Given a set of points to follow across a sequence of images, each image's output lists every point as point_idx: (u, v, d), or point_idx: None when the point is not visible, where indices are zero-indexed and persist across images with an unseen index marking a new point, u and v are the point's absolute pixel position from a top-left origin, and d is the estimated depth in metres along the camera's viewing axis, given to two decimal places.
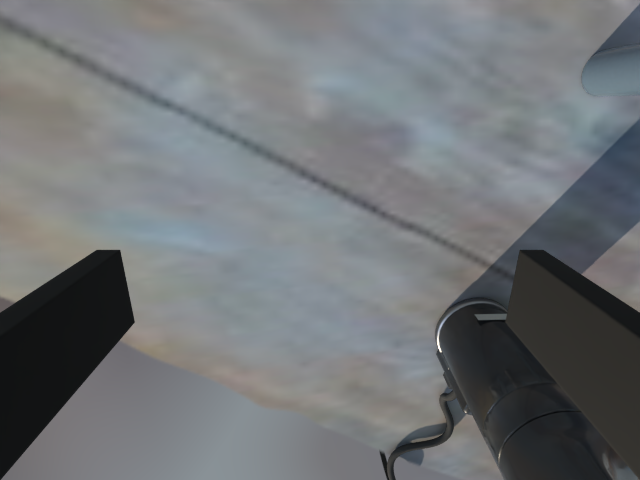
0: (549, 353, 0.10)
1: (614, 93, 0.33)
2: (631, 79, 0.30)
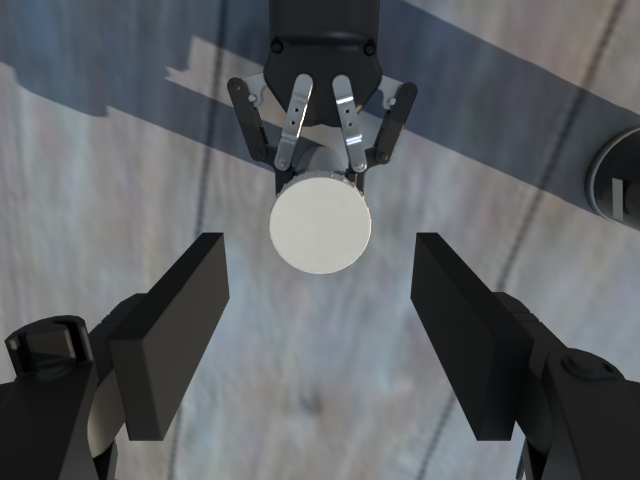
0: (428, 319, 0.12)
1: None
2: None
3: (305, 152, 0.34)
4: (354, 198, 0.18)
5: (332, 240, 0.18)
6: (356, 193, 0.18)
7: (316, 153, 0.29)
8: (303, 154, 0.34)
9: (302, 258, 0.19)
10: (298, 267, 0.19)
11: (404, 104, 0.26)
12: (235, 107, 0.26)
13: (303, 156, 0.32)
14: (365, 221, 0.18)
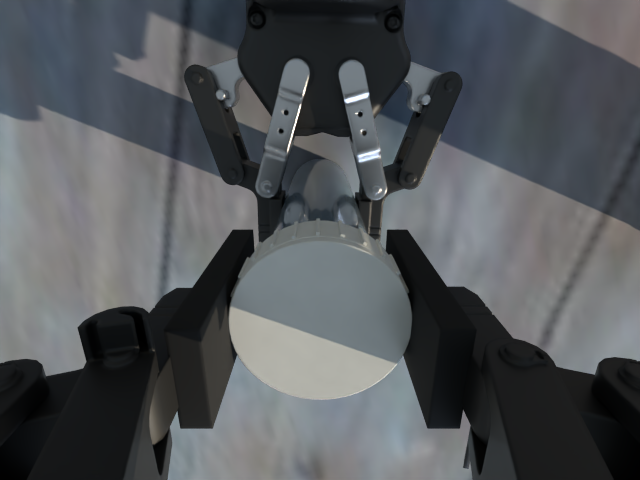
0: None
1: None
2: None
3: (300, 167, 0.26)
4: (384, 278, 0.10)
5: (342, 347, 0.10)
6: (388, 269, 0.10)
7: (315, 172, 0.21)
8: (298, 170, 0.26)
9: (289, 376, 0.11)
10: (282, 390, 0.11)
11: (442, 104, 0.18)
12: (197, 108, 0.18)
13: (297, 174, 0.24)
14: (403, 317, 0.10)
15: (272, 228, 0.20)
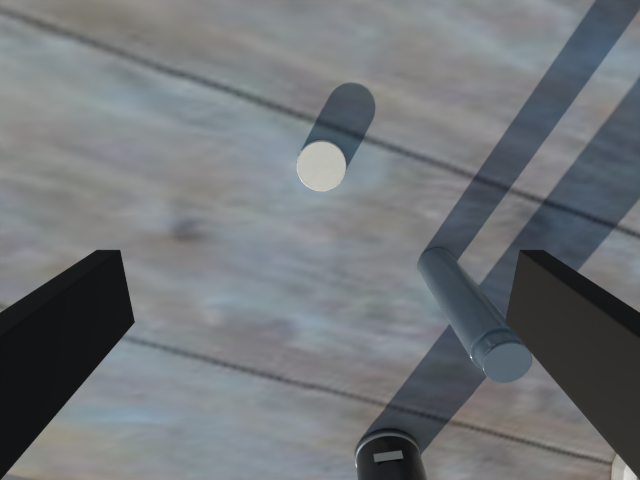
0: (548, 352, 0.10)
1: None
2: (435, 298, 0.38)
3: None
4: (305, 151, 0.37)
5: (327, 160, 0.38)
6: (302, 151, 0.37)
7: None
8: None
9: (338, 173, 0.38)
10: (343, 175, 0.38)
11: None
12: None
13: None
14: (316, 144, 0.37)
15: None
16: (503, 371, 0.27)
